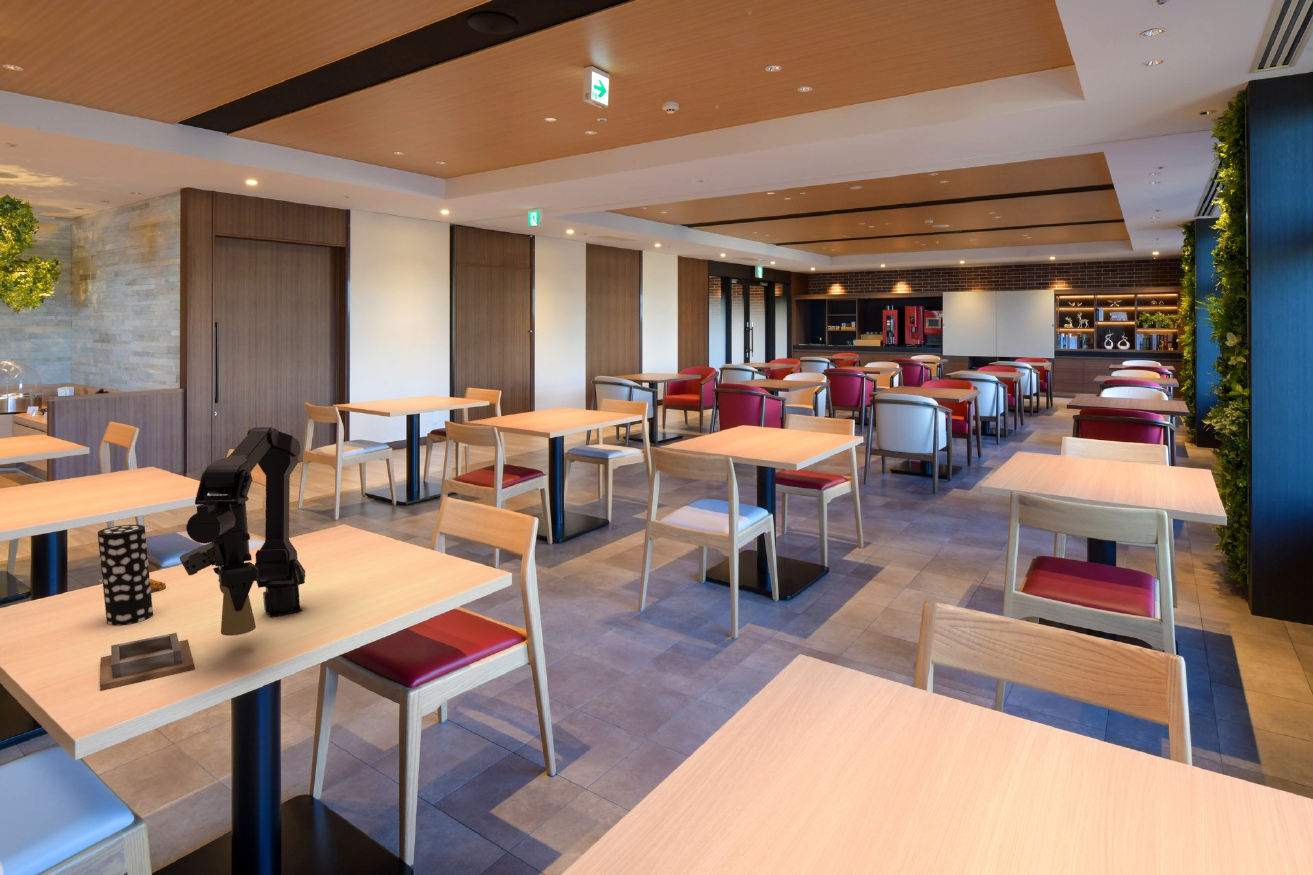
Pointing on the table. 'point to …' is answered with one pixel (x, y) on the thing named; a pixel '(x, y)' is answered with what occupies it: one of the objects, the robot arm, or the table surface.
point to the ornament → (156, 585)
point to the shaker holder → (145, 660)
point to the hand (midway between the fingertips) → (236, 607)
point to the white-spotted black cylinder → (125, 574)
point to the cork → (235, 616)
